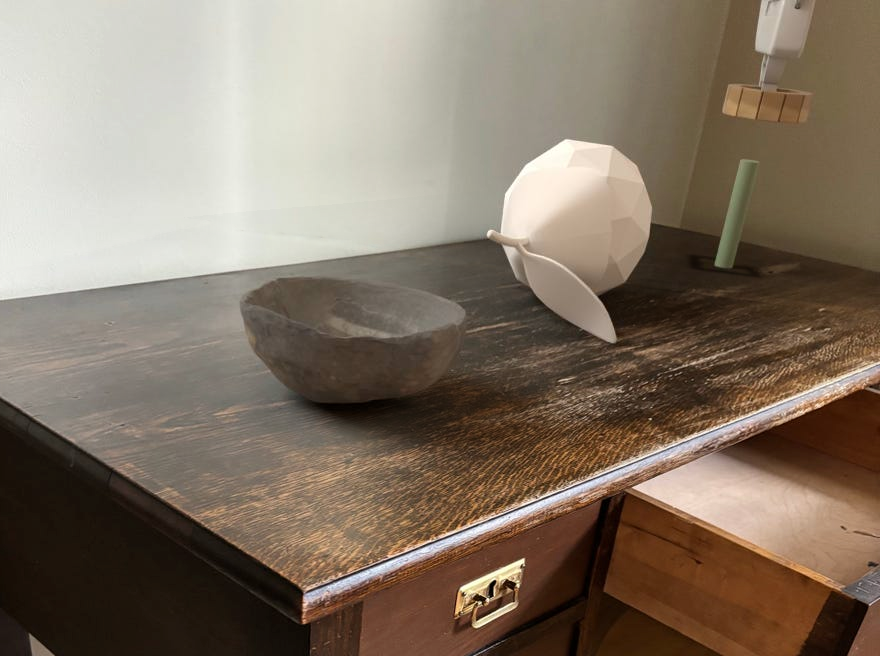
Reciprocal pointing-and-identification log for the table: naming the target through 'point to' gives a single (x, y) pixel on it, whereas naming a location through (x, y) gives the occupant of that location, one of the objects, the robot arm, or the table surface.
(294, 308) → the bowl
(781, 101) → the ring
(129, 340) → the table surface
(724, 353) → the table surface
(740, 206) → the green post
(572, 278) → the pear ornament
